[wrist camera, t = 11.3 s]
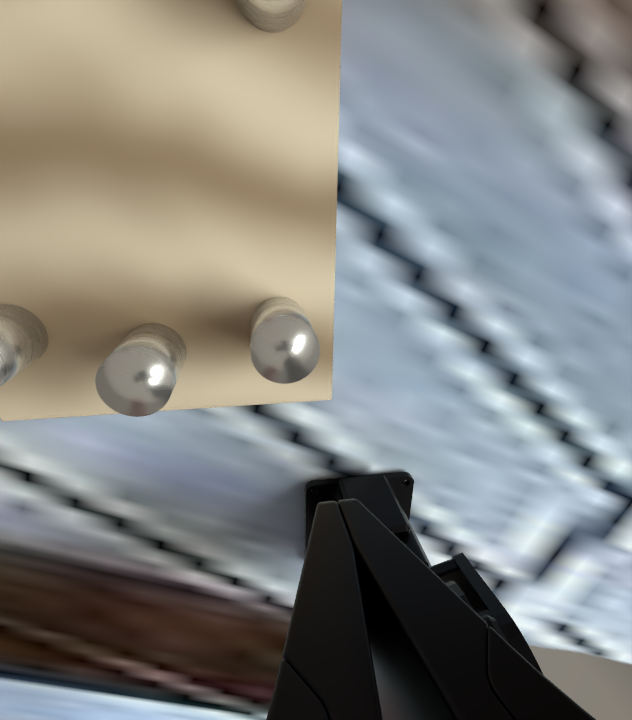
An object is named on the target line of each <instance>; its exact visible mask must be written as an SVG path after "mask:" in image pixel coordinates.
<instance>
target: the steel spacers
mask: <svg viewBox="0 0 632 720" xmlns="http://www.w3.org/2000/svg"><path fill="white" fill-rule="evenodd" d="M235 2H236V4H237V6H238V8H239V10H240V12H241V13H242V15H243V16H244V17H245V18H246V20H247V21H248V22H249V23H251V24H252V25H253V26H255V27H256V28H258V29H260V30H262V31H265V32H271V33H276V32H281V31H284V30H287V29H288V28H290V27H291V26H293V25H294V24H295V23H296V22H297V21H298V19H299V18H300V17H301V15H302V13H303V11H304V8H305V5H306V2H307V0H235ZM47 347H48V333H47V330H46V328H45V326H44V324H43V323H42V322H41V320H40V319H39V318H38V317H37V316H36V315H35V314H33V313H32V312H30V311H29V310H27V309H25V308H23V307H20V306H17V305H12V304H0V386H2V385H3V384H4V383H6V382H7V381H9V380H10V379H11V378H13V377H14V376H15V375H17V374H18V373H20V372H21V371H22V370H24V369H25V368H26V367H28V366H29V365H30V364H32V363H33V362H35V361H36V360H37V359H39V358H40V357H41V356H42V355H43V354H44V353H45V351H46V349H47ZM250 354H251V360H252V363H253V365H254V367H255V369H256V370H257V371H258V373H259V374H260V375H261V376H263V377H264V378H266V379H267V380H269V381H272V382H275V383H280V384H288V383H294V382H297V381H300V380H302V379H304V378H305V377H307V376H308V375H309V374H310V373H311V372H312V371H313V370H314V368H315V367H316V365H317V363H318V360H319V357H320V343H319V340H318V337H317V335H316V333H315V331H314V329H313V327H312V325H311V323H310V321H309V319H308V317H307V315H306V313H305V311H304V309H303V308H302V307H301V306H300V305H299V304H298V303H297V302H296V301H294V300H292V299H290V298H286V297H273V298H270V299H267V300H265V301H264V302H262V303H261V304H260V305H259V306H258V307H257V308H256V309H255V311H254V313H253V315H252V318H251V351H250ZM186 355H187V350H186V345H185V343H184V341H183V339H182V337H181V336H180V335H179V334H178V333H177V332H176V331H175V330H173V329H172V328H170V327H168V326H166V325H163V324H159V323H147V324H143V325H140V326H138V327H136V328H135V329H134V330H133V331H132V332H130V334H129V335H128V336H127V337H126V338H125V339H124V340H123V341H122V342H121V343H120V344H119V345H118V346H117V348H116V349H115V350H114V351H113V352H112V353H111V354H110V355H109V356H108V357H107V358H106V359H105V360H104V361H103V363H102V364H101V365H100V366H99V368H98V370H97V373H96V377H95V385H96V389H97V392H98V394H99V396H100V398H101V399H102V401H103V402H104V403H105V404H106V405H107V406H108V407H110V408H111V409H113V410H114V411H116V412H118V413H121V414H124V415H128V416H135V417H138V416H147V415H150V414H153V413H155V412H157V411H159V410H160V409H162V408H163V407H164V406H165V405H166V403H167V402H168V400H169V398H170V396H171V394H172V391H173V389H174V387H175V384H176V382H177V379H178V377H179V375H180V372H181V370H182V367H183V365H184V363H185V360H186Z"/></svg>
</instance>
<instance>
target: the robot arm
mask: <svg viewBox="0 0 632 720" xmlns="http://www.w3.org/2000/svg"><path fill="white" fill-rule="evenodd" d="M404 480H407V481H405V482H403V481H404ZM413 485H414V480H413V478H412V476H411V475H410V474H409V473H407V472H400V473H390V474H379V475H369V476H358V477H348V478H337V479H327V480H316V481H311V482H309V483H307V484H306V486H305V559H304V564H303V568H302V573H301V577H300V581H299V586H298V590H297V594H296V599H295V603H294V607H293V612H292V616H291V620H290V625H289V629H288V633H287V638H286V642H285V647H284V651H283V655H282V661H281V663H280V667H279V671H278V676H277V680H276V685H275V689H274V692H273V696H272V700H271V704H270V708H269V712H268V715H267V719H266V720H596V719H595V718H593V717H592V716H591V715H590V714H588V713H587V712H586V711H585V710H584V709H582V708H581V707H580V706H579V705H577V704H576V703H575V702H574V701H573V700H572V699H571V698H569V697H568V696H567V695H566V694H565V693H563V692H562V691H561V690H560V689H559V688H558V687H556V686H555V685H554V684H553V683H552V682H551V681H549V680H548V679H547V678H546V677H545V676H544V675H543V673H542V671H541V669H540V667H539V665H538V663H537V661H536V659H535V657H534V655H533V653H532V651H531V649H530V648H529V646H528V644H527V642H526V641H525V639H524V637H523V635H522V634H521V632H520V630H519V629H518V627H517V626H516V624H515V622H514V621H513V619H512V618H511V616H510V615H509V614H508V612H507V611H506V610H505V608H504V607H503V606H502V604H501V603H500V602H499V600H498V599H497V598H496V596H495V595H494V594H493V592H492V591H491V590H490V588H489V587H488V586H487V584H486V583H485V582H484V580H483V579H482V578H481V577H480V575H479V574H478V573H477V571H476V570H475V569H474V567H473V566H472V565H471V563H470V562H469V561H468V559H467V558H466V557H465V555H464V554H463V553H460V554H457V555H455V556H452V559H450V560H447V561H445V562H442V563H439V564H437V565H434V566H432V567H431V565H430V563H429V561H428V559H427V556H426V554H425V552H424V550H423V548H422V546H421V544H420V542H419V540H418V538H417V536H416V534H415V532H414V530H413V528H412V526H411V524H410V522H409V517H410V509H411V501H412V493H413ZM312 489H317V490H316V491H311V490H312Z"/></svg>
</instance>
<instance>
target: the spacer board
mask: <svg viewBox="0 0 632 720" xmlns="http://www.w3.org/2000/svg"><path fill="white" fill-rule="evenodd" d="M341 17H342V0H307V2H306V5H305V8H304V11H303V13H302V15H301V17H300V18H299V19H298V21H297V22H296V23H295V24H294V25H293V26H291V27H290V28H288V29H287V30H284V31H281V32H276V33H271V32H265V31H262V30H260V29H258V28H256V27H255V26H253V25H252V24H251V23H249V22H248V21H247V20H246V18H245V17H244V16H243V15H242V13H241V12H240V10H239V8H238V6H237V4H236V2H235V0H0V304H12V305H17V306H20V307H23V308H25V309H27V310H29V311H30V312H32V313H33V314H35V315H36V316H37V317H38V318H39V319H40V320H41V322H42V323H43V324H44V326H45V328H46V330H47V333H48V347H47V349H46V351H45V353H44V354H43V355H42V356H41V357H40V358H39V359H37V360H36V361H35V362H33V363H32V364H30V365H29V366H28V367H26V368H25V369H24V370H22V371H21V372H20V373H18V374H17V375H15V376H14V377H13V378H11V379H10V380H9V381H7V382H6V383H4V384H3V385H2V386H0V417H1V420H2V421H13V420H28V419H44V418H59V417H74V416H90V415H105V414H120V413H118V412H116V411H114V410H113V409H111V408H110V407H108V406H107V405H106V404H105V403H104V402H103V401H102V399H101V398H100V396H99V394H98V392H97V389H96V385H95V377H96V373H97V370H98V368H99V366H100V365H101V364H102V363H103V361H104V360H105V359H106V358H107V357H108V356H109V355H110V354H111V353H112V352H113V351H114V350H115V349H116V348H117V346H118V345H119V344H120V343H121V342H122V341H123V340H124V339H125V338H126V337H127V336H128V335H129V334H130V332H132V331H133V330H134V329H135V328H136V327H138V326H140V325H143V324H147V323H159V324H163V325H166V326H168V327H170V328H172V329H173V330H175V331H176V332H177V333H178V334H179V335H180V336H181V337H182V339H183V341H184V343H185V345H186V350H187V355H186V360H185V363H184V365H183V367H182V370H181V372H180V375H179V377H178V379H177V382H176V384H175V387H174V389H173V391H172V394H171V396H170V398H169V400H168V402H167V403H166V405H165V406H164V407H163V408H162V409H160V410H159V411H166V410H181V409H197V408H212V407H227V406H242V405H258V404H273V403H288V402H303V401H319V400H332V366H333V327H334V288H335V250H336V211H337V172H338V133H339V95H340V56H341ZM273 297H286V298H290V299H292V300H294V301H296V302H297V303H298V304H299V305H300V306H301V307H302V308H303V309H304V311H305V313H306V315H307V317H308V319H309V321H310V323H311V325H312V327H313V329H314V331H315V333H316V335H317V337H318V340H319V343H320V357H319V360H318V363H317V365H316V367H315V368H314V370H313V371H312V372H311V373H310V374H309V375H308V376H307V377H305V378H304V379H302V380H300V381H297V382H294V383H288V384H280V383H275V382H272V381H269V380H267V379H266V378H264V377H263V376H261V375H260V374H259V373H258V371H257V370H256V369H255V367H254V365H253V363H252V360H251V354H250V351H251V318H252V315H253V313H254V311H255V309H256V308H257V307H258V306H259V305H260V304H261V303H262V302H264V301H265V300H267V299H270V298H273Z"/></svg>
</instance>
